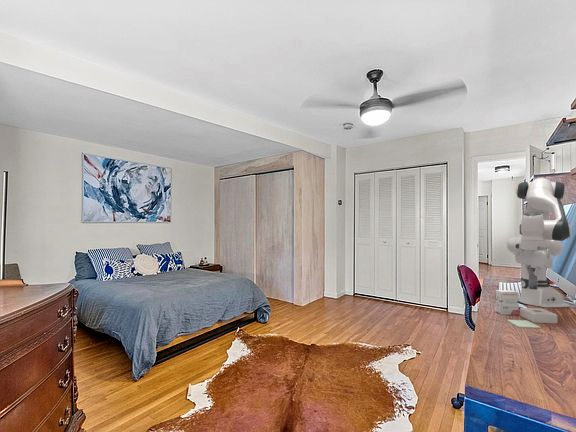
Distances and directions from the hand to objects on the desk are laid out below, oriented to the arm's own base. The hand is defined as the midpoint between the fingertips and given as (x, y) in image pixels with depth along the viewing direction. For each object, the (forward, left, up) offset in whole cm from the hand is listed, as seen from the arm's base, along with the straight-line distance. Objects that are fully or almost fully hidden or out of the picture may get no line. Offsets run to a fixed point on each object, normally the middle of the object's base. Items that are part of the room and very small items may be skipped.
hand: (533, 275), depth 139 cm
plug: (0, 0, -7) cm, 7 cm away
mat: (+8, +5, -22) cm, 24 cm away
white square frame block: (-4, -4, -22) cm, 23 cm away
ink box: (+5, -12, -23) cm, 26 cm away
